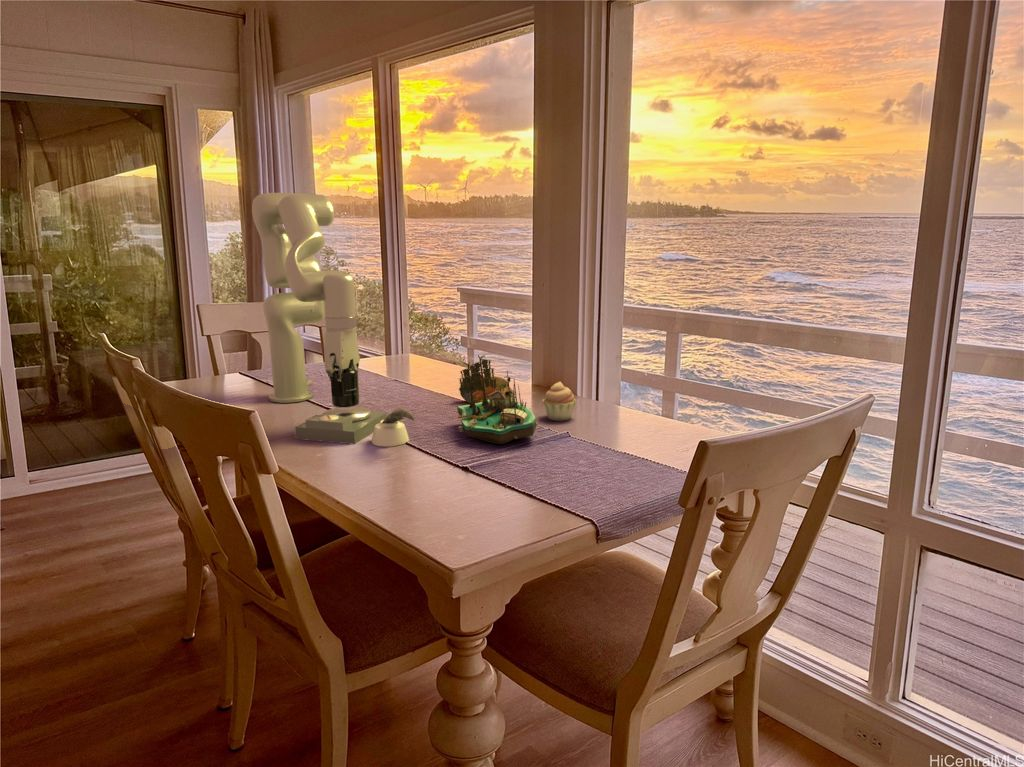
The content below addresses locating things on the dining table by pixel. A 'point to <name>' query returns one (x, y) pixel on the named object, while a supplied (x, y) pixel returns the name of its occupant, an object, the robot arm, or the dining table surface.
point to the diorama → (493, 408)
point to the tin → (479, 394)
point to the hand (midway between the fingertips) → (345, 392)
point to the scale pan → (350, 412)
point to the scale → (338, 428)
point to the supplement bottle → (348, 388)
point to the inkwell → (392, 429)
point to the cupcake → (559, 402)
